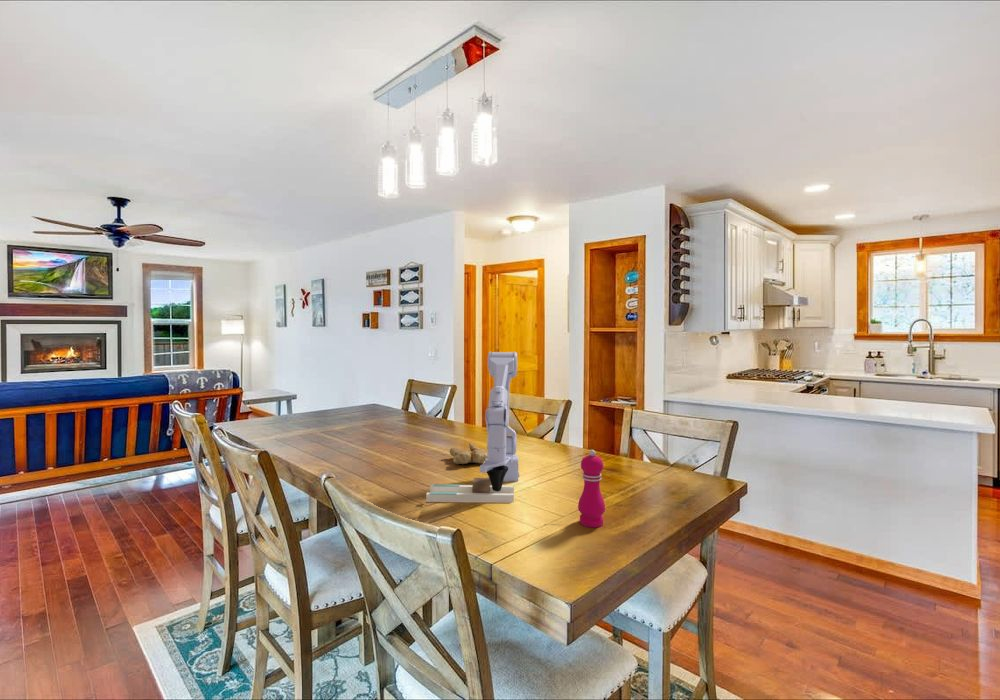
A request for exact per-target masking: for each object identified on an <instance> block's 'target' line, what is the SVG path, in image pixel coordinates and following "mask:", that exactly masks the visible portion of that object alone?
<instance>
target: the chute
mask: <svg viewBox="0 0 1000 700" xmlns="http://www.w3.org/2000/svg"><path fill="white" fill-rule="evenodd" d="M429 489H430V490H429V491H430V492H428V491H427V492H426V494H425V495H426V496H425V497H426V499H425V500H426V503H488V504H489V503H491V504H492V503H494V504H495V503H497V504H498V503H501V504H502V503H505V504H506V503H507V504H514V502H515V498H514V497H515V495H514V494H515V485H502V488H501V491H498V492H497V491H493V489H492V485H491V484H490V493H472V484H459V483H458V484H457V483H456V484H454V483H453V484H452V483H451V484H448V483H447V484H446V483H443V484H441V483H439V484H438V483H437V484H436V483H434V484H430V487H429Z"/></svg>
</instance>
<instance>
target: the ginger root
mask: <svg viewBox="0 0 1000 700" xmlns="http://www.w3.org/2000/svg"><path fill="white" fill-rule="evenodd" d="M468 446H469V449H460V448H458V447H450V449H449V454H450V456H452V457H453V459H452V462H453V463H454V464H456V465H458V464H462V465H464V464H468V463H469V464H470V463H471V464H483V463H485V459H487V450H485V449H483V448H480V447H478V446H477V445H475V444H474V443H472V442H469V443H468Z"/></svg>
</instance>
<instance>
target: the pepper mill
mask: <svg viewBox="0 0 1000 700" xmlns="http://www.w3.org/2000/svg"><path fill="white" fill-rule="evenodd" d="M580 468H581V470H582V472H583V473H582V479H583V489H582V490H583V491H582V493H581V495H580V496H579V497H580V498H579V500H578V502H577V503H578V505H577V508H578V509H577V510H578V511H579V512H580V515H579V523H580V525H582V526H583V527H587V528H600V527H602V526H603V525H604V516H603V514H604V513H605V511H606V503H605V500H604V496H603V495H602V491H601V485H600V483H601V481H602V476H603V475H602V471H603V470H604V461H603V460H602V458H601V457H599V456H598V455H596V451H595V450H594V449H590V450H589V451H588V455H585V456H584V457H583V458H582V459H581V462H580Z"/></svg>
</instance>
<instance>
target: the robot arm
mask: <svg viewBox="0 0 1000 700" xmlns="http://www.w3.org/2000/svg"><path fill="white" fill-rule="evenodd" d="M487 368H488V373H489V376H490V377H492V378H493V387H492V388H491V389H490V391H489V397H488V398H489V399H488V408H486V409H485V419H484V420H485V424H486V432H487V433H486V434H487V436H486V437H487V440H486V442H487V443H486V453H487V459H485V461H484V463H481V464H480V465H479V473H482V474H483V473H484V474H487V475H488V476H487V477H488V478H490V485H492V489H493V491H497V492H498V491H501V488H502V486H503V482H504V483H505V482H519V478H520V471H519V455H516V454H517V453H518V452H517V450H518V449H517V447H518V440H517V439H518V438H517V432H516V431H515V429H513V428H512V427H511V426H510V384H511V381H512V379H514V378H515V377H517V374H518V353H517V352H516V351H505V352H504V351H493V352H492V351H489V352H488V354H487Z"/></svg>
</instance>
